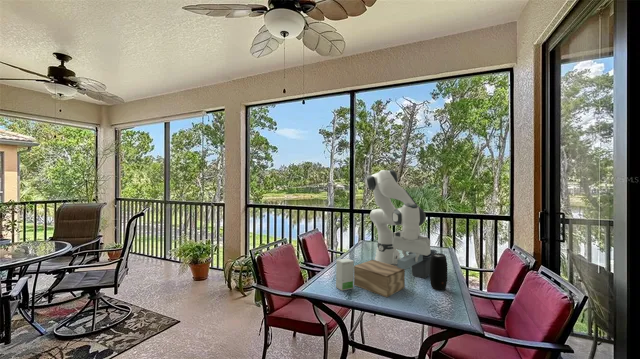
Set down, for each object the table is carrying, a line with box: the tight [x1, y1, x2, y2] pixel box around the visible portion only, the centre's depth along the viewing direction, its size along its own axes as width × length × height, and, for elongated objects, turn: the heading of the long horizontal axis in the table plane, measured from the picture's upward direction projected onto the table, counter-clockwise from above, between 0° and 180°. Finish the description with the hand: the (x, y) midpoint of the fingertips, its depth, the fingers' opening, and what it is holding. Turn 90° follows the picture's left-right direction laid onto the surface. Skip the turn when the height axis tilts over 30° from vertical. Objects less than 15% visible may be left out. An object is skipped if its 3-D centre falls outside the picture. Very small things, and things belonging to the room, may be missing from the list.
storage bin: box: [407, 248, 439, 279], centre depth 176 cm, size 21×16×14 cm
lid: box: [354, 259, 406, 278], centre depth 154 cm, size 18×22×1 cm
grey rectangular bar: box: [396, 253, 423, 270], centre depth 143 cm, size 20×4×4 cm, turn 134°
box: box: [353, 268, 406, 298], centre depth 154 cm, size 18×22×10 cm
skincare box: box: [335, 258, 355, 291], centre depth 152 cm, size 8×7×16 cm
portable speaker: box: [429, 252, 448, 291], centre depth 152 cm, size 8×9×19 cm
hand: (410, 260), depth 144 cm, fingers closed on grey rectangular bar, 4 cm apart
